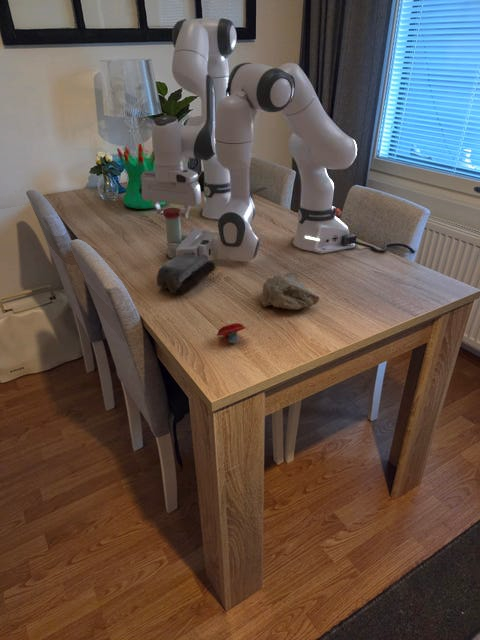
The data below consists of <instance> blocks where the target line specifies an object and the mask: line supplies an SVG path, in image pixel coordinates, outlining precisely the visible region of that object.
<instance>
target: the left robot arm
mask: <svg viewBox="0 0 480 640" xmlns="http://www.w3.org/2000/svg"><path fill="white" fill-rule="evenodd" d="M171 32H172V33H171V34H172V35H171V40H172V45H173V47H174V50H173V56H172V62H171V72H172V73H171V74H172V76H173V79H174V81H175V82H176V83H177V84H178V86H180V87H181V88H182V89H184V90H185V91H186V92H188V93H191V94H193V95H195V96H197V97H199V99H201V100H200V102H201V104H200V105H201V108H200V109H201V115H196V116H191V117H189V118H188V119H187V121H186V123H185V124H184V125H183V124H180V123H179V120H178V118H177V117H176V116H173V115H162V116H158V117H156V118H154V119H153V121H152V124H151V144H152V145H151V146H152V151H153V152H154V155H155V160H154V168H155V172H150V171H145V172H143V173H142V175H141V179H142V197H143V199H144V200H148V201H153V205H154V207H155V208H154V209H155V210H156V215H160V216H162V215H164V214H163V212H164V208H162V206H160V205H159V203H160V202H163V203H166V204H171V205H180V206H183V208H184V209H185V210H184V211H181V218H182V219H188V218H189V212H190V209H191V208H192V207H197V206H199V205H200V204H201V202H202V191H201V186H200V184H199V183H198V179H199V174H198V172H197V171H194V170H192V169H191V168H188V167H186V166H184V164H183V163H184V162H183V158H185V159H195V160H201V161H202V167H203V172H204V180H205V181H204V189H203V193H204V194H203V195H204V199H203V206H202V207H203V208H202V211H201V216H202V217H204V218H205V219H210V220H219V218H220V216H221V214H222V213H223V211H224V209H225V208H226V206H227V204H228V201H229V199H230V196H231V188H230V173H229V170H228V169H226V168H224V167H223V166H222V165H221V164H220V163H219V162H218V160H217V155H216V149H215V121H216V113H217V107H218V104H219V102H220V101H221V100H222V99H223V98H224V97H227V96H226V89H227V85H228V79H229V76H230V70H229V69H230V67H229V60H228V58H229V56H230V55H231V54H232V53H233V52H234V51H235V49H236V45H237V37H238V36H237V30H236V26H235V23H233V21H232V20H230V19H228V18H223V17H221V18H215V17H201V18H191V19H186V18H185V19H181V20H178V21H177V22H176V23H175V24H174V26H173V27H172V31H171ZM228 96H229V95H228ZM144 173H145V174H144ZM262 189H263V188H261V187H260V188H257V189H255V190H253V191H250V196H251V199H252V198H253V194H254V193H256V192H259V191H261V190H262Z"/></svg>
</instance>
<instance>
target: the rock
mask: <svg viewBox="0 0 480 640" xmlns="http://www.w3.org/2000/svg"><path fill="white" fill-rule="evenodd" d="M194 255H195V253H194V252H193V253H187V252H185V253H183V254H181V255H179V256H176V257H175V258H170V259H169V260H167V261H166V262H165V263H164V264H162V265H161V267H159V269H158V271H157V274H156V284H157V286H158V287H159V288H160V289H163V290H164V289H168V290H169V291H170V292H171V293H172V294H175V295H181V294H182V293H183V292H186V291H188V290H190V289H192V288H194V287H196V286H197V285H198V284H200V282H201V281H202V280H203V279H204V278H205V277H208V276H209V275H210V274H211V273H212V272H213V271H214V270H215V268H216V265H215V263H214V262H213V261H208V257H207V256H206V255H202V256H198V257H195V256H194Z"/></svg>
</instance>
